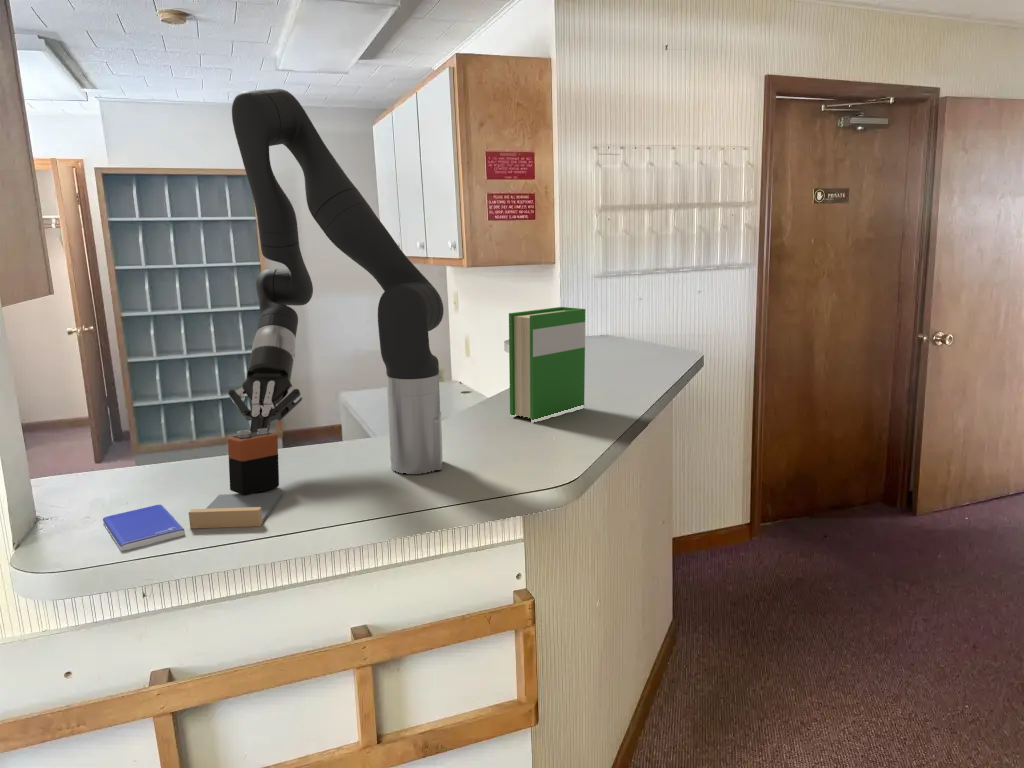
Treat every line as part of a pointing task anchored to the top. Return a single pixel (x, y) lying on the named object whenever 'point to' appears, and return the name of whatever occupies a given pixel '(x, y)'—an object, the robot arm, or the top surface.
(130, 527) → the hard drive
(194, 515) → the dough scraper
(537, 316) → the hardback book
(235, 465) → the battery
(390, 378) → the robot arm
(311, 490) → the top surface
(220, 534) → the top surface
